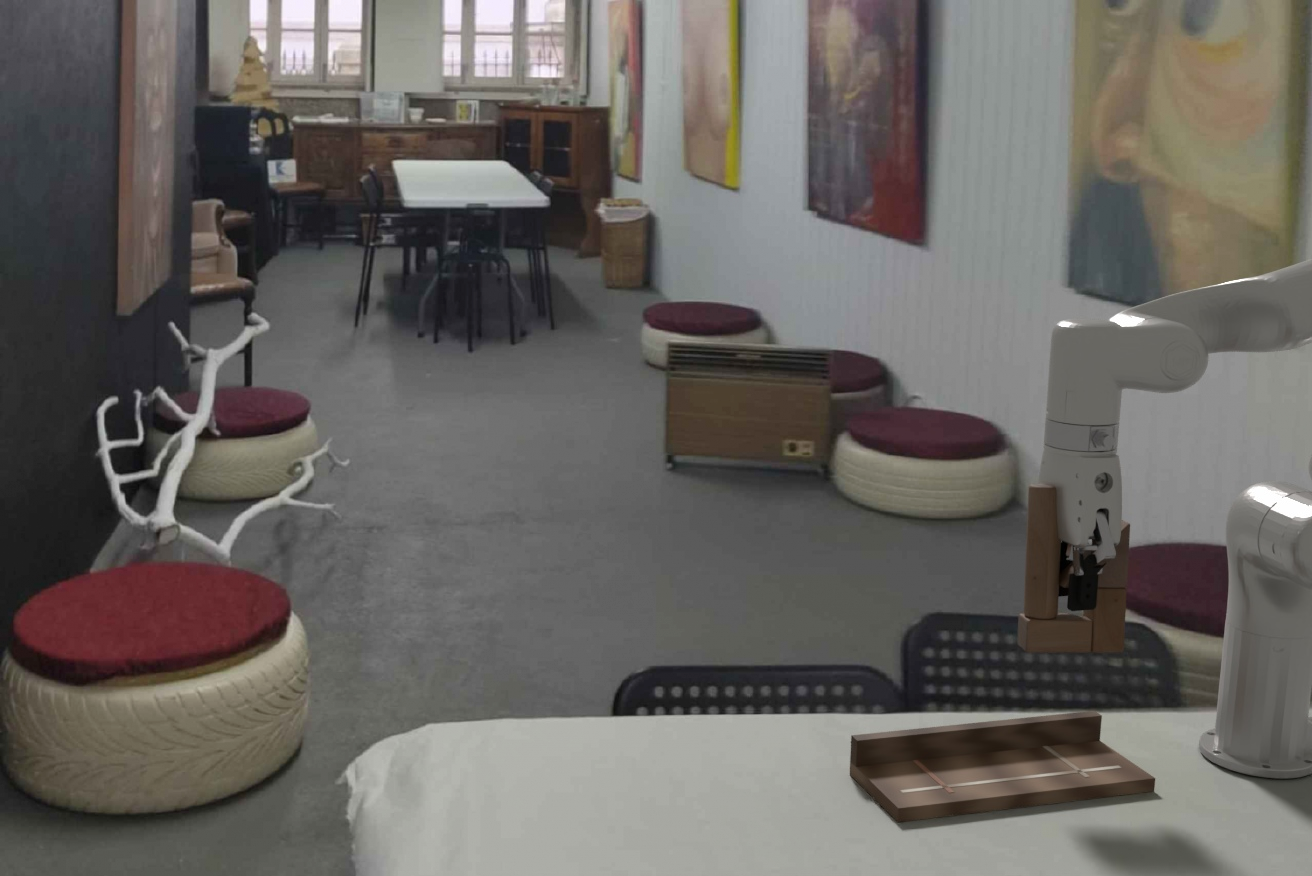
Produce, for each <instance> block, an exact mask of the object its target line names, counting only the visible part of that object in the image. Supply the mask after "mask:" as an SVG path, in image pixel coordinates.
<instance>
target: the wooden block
mask: <svg viewBox="0 0 1312 876" xmlns="http://www.w3.org/2000/svg"><path fill="white" fill-rule="evenodd" d="M1027 488H1028V490H1027V491H1028V492H1027V517H1026V518H1027V519H1026V537H1025V538H1026V541H1025V542H1026V543H1025V564H1024V565H1025V567H1024V586H1023V587H1024V590H1023V593H1024V594H1023V611H1022V613H1019V614H1018V617H1017V621H1018V622H1017V625H1018V626H1017V639H1016V641H1017V646H1019V647H1020V648H1021V649H1022V650H1023V651H1025V652H1027V653H1028V654H1029V653H1090V652H1091V653H1094V654H1095V653H1096V654H1114V653H1115V654H1120V653H1124V650H1125V633H1126V629H1125V628H1126V610H1127V588H1128V580H1129V579H1128V577H1129V576H1128V575H1129V557H1130V555H1129V554H1130V551H1129V550H1130V538H1131V537H1130V534H1131V524H1130V522H1128V521H1126V520H1123V519H1122V521H1121V536H1120V542H1119V544H1118V545H1117V546H1114V548H1115V551H1116V556H1115V558H1113V559H1112V560H1110V561H1109V562H1107V563H1106V565H1105V566H1104V567H1103V568H1102V573H1101V574H1100V575H1099V576H1098V589H1097V602H1096V608H1095V609H1093V610H1082V611H1083V613H1082V614H1083V615H1078V614H1073V613H1072V614H1071V613H1067V612H1065V613H1064V612H1062V613H1060V612H1059V597H1058V596H1059V585H1061V586H1062V587H1064V588H1069V575H1070V574H1074V568H1073V561H1072V562H1071V563H1070V564H1069V565H1068V566H1067V567H1066V568H1065V569H1064V570H1063V571H1062V572H1061V573H1060V549H1061V542H1062V541H1061V540H1060V539H1059V538H1058V528H1057V505H1056V488H1055V487H1054V486H1050V485H1047V484H1044V483H1038V482H1037V483H1032V484H1029V485H1028V487H1027ZM1090 544H1092V542H1091V543H1090ZM1090 554H1091V551H1083V558H1084V560H1085V558H1086V557H1087V556H1088V555H1090ZM1059 573H1060V574H1059ZM1058 612H1059V613H1058Z"/></svg>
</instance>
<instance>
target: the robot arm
mask: <svg viewBox="0 0 1312 876" xmlns="http://www.w3.org/2000/svg"><path fill="white" fill-rule="evenodd" d="M1309 344H1312V258H1310V259H1307V260H1304V261H1301V262H1298V263H1295V264H1292V265H1289V266H1287V267H1283V268H1280V269H1277V270H1274V271H1271V272H1267V273H1263V274H1260V275H1257V276H1250V277H1245V278H1244V277H1243V278H1239V279H1235V280H1230V281H1227V282H1224V283H1219V284H1213V285H1209V286H1205V287H1198V288H1194V289H1189V290H1186V291H1181V292H1177V293H1173V294H1168V295H1166V296H1163V297H1160V298H1157V299H1153V300H1151V301H1147V302H1145V303H1141V304H1139V305H1135V306H1132V307H1129V308H1127V309H1124V310H1122V311H1120V312H1117V313H1116V314H1114V315H1113V316H1111V317H1110V318H1108V320H1106V319H1099V318H1098V319H1096V318H1069V319H1064V320H1063V319H1062V320H1060V321H1058V322H1057V323H1056V324H1055V325H1054V327H1053V329H1052V331H1051V338H1050V348H1049V349H1050V351H1049V364H1048V366H1049V367H1048V379H1047V396H1046V406H1045V407H1046V411H1045V423H1044V437H1043V438H1044V439H1043V452H1042V457H1041V462H1040V467H1039V474H1038V480H1037V483H1044V484H1047V485H1050V486H1054V487H1055V488H1056V505H1057V528H1058V538H1059V539H1060V540H1061V549H1060V573H1061V572H1062V571H1063V570H1064V569H1065V568H1066V567H1067V566H1068V565H1069V564H1070V563H1071V562H1072V561H1073V568H1074V574H1070V575H1069V588H1064V587H1062V586H1061V585H1059V596H1058V598H1059V597H1060V598H1061V597H1067V604H1066V606H1067V607H1066V608H1067V610H1069V611H1071V612H1079V611H1083V610H1093V609H1095V608H1096V602H1097V589H1098V576H1099V575H1100V574H1101V573H1102V568H1103V567H1104V566H1105V565H1106V563H1107V562H1109V561H1110V560H1112V559H1113V558H1115V556H1116V551H1115V548H1114V546H1117V545H1118V544H1119V542H1120V536H1121V521H1122V520H1123V519H1122V518H1123V517H1122V516H1123V482H1122V471H1121V470H1122V469H1121V463H1120V462H1121V461H1120V455H1118V454H1117V453H1118V444H1119V443H1118V441H1119V431H1120V430H1119V429H1120V419H1121V407H1122V406H1121V405H1122V394H1123V390H1126V389H1128V390H1135V391H1144V392H1151V393H1157V394H1158V393H1159V394H1174V393H1178V392H1182V391H1185V390H1188V389H1189V388H1191V387H1192V386H1194V385H1195V384H1196V383H1197V382H1199V381H1200V380H1201V378H1202V377H1203V376H1204V374H1205V372H1206V370H1207V368H1208V364H1209V354H1218V353H1233V352H1234V353H1235V352H1237V353H1274V352H1275V353H1276V352H1283V351H1285V352H1286V351H1291V350H1295V349H1297V348H1300V347H1303V346H1306V345H1309ZM1308 473H1309V477H1310V479H1311V481H1312V455H1311V456H1310V459H1309V463H1308ZM1090 540H1091V543H1092V544H1091V543H1090V544H1089V541H1090ZM1225 542H1226V555H1227V556H1226V557H1227V565H1228V566H1227V568H1228V592H1227V603H1226V604H1227V605H1226V613H1225V615H1226V616H1225V621H1224V622H1225V623H1224V634H1223V644H1222V653H1221V654H1222V655H1221V664H1220V676H1219V683H1218V693H1217V694H1218V695H1217V705H1216V715H1215V717H1216V718H1215V723H1214V724H1215V726H1214V728H1212V729H1208V730H1207V731H1205V732H1203V733H1202V734H1201V735H1200V736H1199V740H1198V741H1199V742H1198V749H1199V752H1200V753H1201V754H1202V755H1203V756H1204V757H1205V758H1206V759H1207V760H1209V761H1210V762H1212V763H1214V764H1215V765H1218V766H1219V767H1222V768H1225V769H1226V770H1230V771H1233V772H1236V773H1239V774H1243V775H1248V776H1252V777H1259V778H1265V779H1266V778H1267V779H1277V780H1278V779H1283V780H1285V779H1297V778H1303V777H1305V776H1309V775H1312V716H1309V713H1310V705H1311V697H1312V696H1311V695H1312V490H1309V489H1306V488H1304V487H1301V486H1299V485H1296V484H1292V483H1288V482H1284V481H1276V480H1274V481H1273V480H1268V481H1262V482H1257V483H1255V484H1252V485H1250V486H1249V487H1246V488H1245V489H1244V490H1243V491H1241V492H1240V493H1239V494H1238V495H1237V496H1236V498H1235V499H1234V501H1233V502H1232V503H1231V506H1230V507H1229V510H1228V514H1227V516H1226V524H1225ZM1071 549H1072V551H1071ZM1083 551H1091V554H1090V555H1088V556H1087V557H1086V558H1085V560H1084V558H1083ZM1071 552H1072V559H1069V558H1070V555H1071ZM1060 573H1059V574H1060Z"/></svg>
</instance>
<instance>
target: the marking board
mask: <svg viewBox="0 0 1312 876" xmlns="http://www.w3.org/2000/svg"><path fill="white" fill-rule="evenodd" d="M1102 717H1103V716H1102V714H1100V713H1099V712H1097V711H1095V710H1089V711H1087V710H1086V711H1077V712H1069V713H1059V714H1048V715H1039V716H1038V715H1037V716H1029V717H1020V718H1009V719H999V720H989V721H980V722H972V723H971V722H970V723H961V724H960V723H959V724H949V725H942V726H941V725H940V726H932V727H931V726H930V727H922V728H921V727H919V728H912V729H911V728H910V729H902V730H900V729H899V730H893V731H892V730H891V731H884V732H883V731H882V732H871V733H862V734H852V735H851V736H850V740H851V741H850V758H849V760H850V761H849V776H851V777H852V778H853V779H854V781H856V782H857V783H858V785H860V787H862V788H863V789H864V790H865V791H866V792H867V793H868V794H869V795H870V796H871V797H872V798H873V799H874V800H875V801H876V802H877V803H878V804H879V805H880V806H881V807H882V808H883V810H885V811H886V812H887V814H889V815H890V816H891V817H892V818H893V819H894V820H895V821H896V822H897V823H904V822H910V821H918V820H919V821H920V820H927V819H935V818H942V817H951V816H961V815H968V814H969V815H970V814H977V813H985V812H993V811H994V812H995V811H1002V810H1009V809H1017V808H1026V807H1034V806H1035V807H1036V806H1042V805H1052V804H1061V803H1068V802H1076V801H1084V800H1085V801H1086V800H1093V799H1101V798H1102V799H1103V798H1109V797H1117V796H1118V797H1119V796H1126V795H1133V794H1134V795H1136V794H1143V793H1151V792H1155V789H1156V788H1155V787H1156V786H1155V785H1156V777H1154V776H1153V775H1151V774H1150V773H1149V772H1147V771H1146V770H1144V769H1143V768H1141V767H1139V766H1138V765H1137V764H1135V763H1134V762H1132V761H1130V760H1129V759H1127V758H1126V757H1125V756H1124V755H1122V754H1120V753H1119V752H1117V751H1116V750H1115V749H1113V748H1112V747H1110V746H1108V745H1107V744H1106V743H1104V742H1102V741H1101V733H1102V732H1101V731H1102V730H1101V729H1102V719H1103V718H1102Z"/></svg>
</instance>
